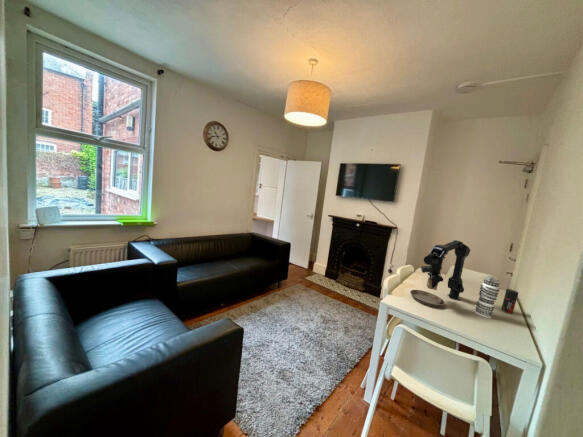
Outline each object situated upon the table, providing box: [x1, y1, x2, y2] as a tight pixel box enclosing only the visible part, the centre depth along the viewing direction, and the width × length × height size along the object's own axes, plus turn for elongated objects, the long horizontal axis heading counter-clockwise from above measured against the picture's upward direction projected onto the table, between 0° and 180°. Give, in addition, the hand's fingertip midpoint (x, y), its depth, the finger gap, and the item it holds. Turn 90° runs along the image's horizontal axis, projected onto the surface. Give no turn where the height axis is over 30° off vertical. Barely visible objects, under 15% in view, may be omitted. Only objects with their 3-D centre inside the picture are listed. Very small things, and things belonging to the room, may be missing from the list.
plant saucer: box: [409, 289, 445, 308], centre depth 157 cm, size 21×21×3 cm
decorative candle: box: [474, 275, 501, 319], centre depth 146 cm, size 9×9×25 cm
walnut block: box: [426, 276, 439, 291], centre depth 154 cm, size 5×5×6 cm
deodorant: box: [500, 288, 519, 315], centre depth 155 cm, size 6×6×15 cm
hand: (431, 286), depth 155 cm, fingers closed on walnut block, 5 cm apart
